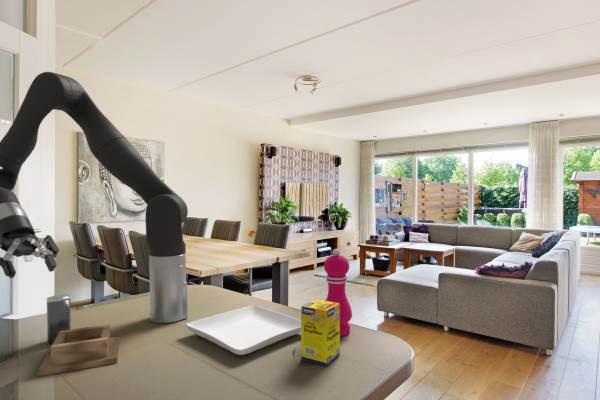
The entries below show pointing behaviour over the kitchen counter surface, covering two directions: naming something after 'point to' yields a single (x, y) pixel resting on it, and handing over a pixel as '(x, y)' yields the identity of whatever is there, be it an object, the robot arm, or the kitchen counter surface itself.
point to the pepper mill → (338, 287)
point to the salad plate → (246, 328)
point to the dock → (80, 350)
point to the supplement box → (320, 332)
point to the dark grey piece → (58, 316)
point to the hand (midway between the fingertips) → (33, 272)
